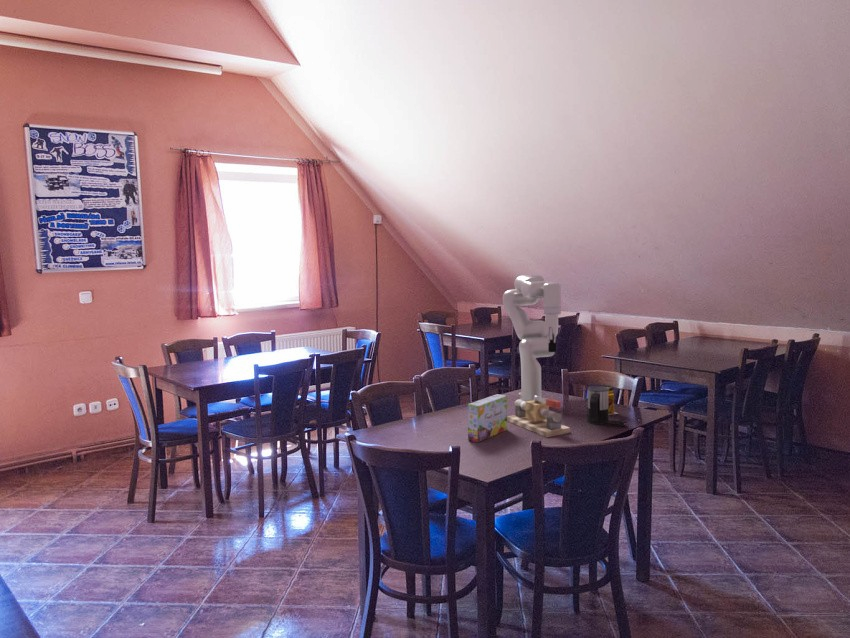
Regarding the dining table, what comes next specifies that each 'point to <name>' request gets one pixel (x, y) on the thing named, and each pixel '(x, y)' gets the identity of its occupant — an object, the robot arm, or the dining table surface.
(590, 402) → the milk frother
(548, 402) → the valve lever
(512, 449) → the dining table surface
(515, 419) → the valve stand
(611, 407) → the condiment
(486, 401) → the snack box
